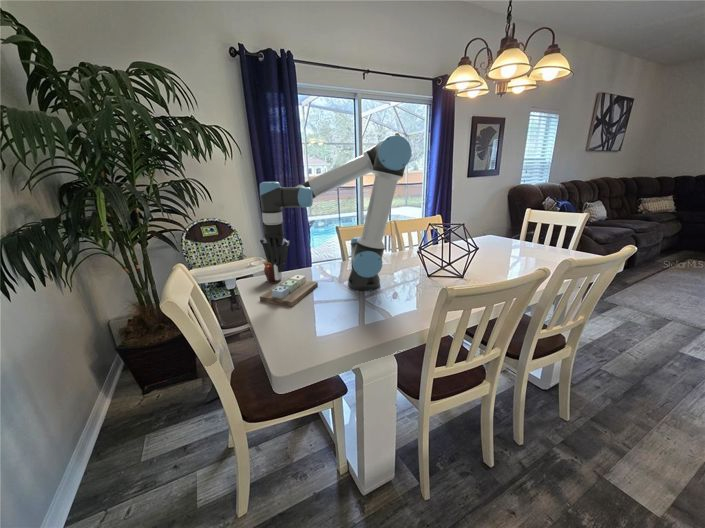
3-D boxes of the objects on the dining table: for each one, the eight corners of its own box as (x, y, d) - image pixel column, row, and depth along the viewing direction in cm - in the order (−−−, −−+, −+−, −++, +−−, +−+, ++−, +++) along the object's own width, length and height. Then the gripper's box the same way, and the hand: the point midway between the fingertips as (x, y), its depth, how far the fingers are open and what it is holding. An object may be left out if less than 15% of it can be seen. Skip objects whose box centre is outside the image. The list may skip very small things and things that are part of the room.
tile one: (305, 282, 136) (305, 275, 134) (300, 286, 131) (299, 279, 130) (296, 281, 137) (296, 274, 136) (290, 284, 133) (290, 277, 132)
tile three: (289, 294, 123) (288, 286, 122) (282, 299, 119) (281, 291, 118) (279, 292, 125) (278, 285, 124) (272, 297, 121) (271, 289, 119)
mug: (270, 276, 149) (268, 257, 145) (286, 277, 147) (284, 258, 144) (258, 285, 137) (256, 265, 134) (275, 286, 136) (273, 266, 132)
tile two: (298, 287, 129) (297, 280, 128) (291, 292, 125) (291, 284, 124) (288, 286, 131) (287, 279, 130) (282, 290, 127) (281, 283, 126)
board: (317, 286, 136) (317, 282, 135) (292, 306, 116) (292, 302, 116) (288, 281, 141) (288, 278, 140) (260, 300, 122) (259, 296, 121)
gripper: (292, 222, 113) (296, 277, 120) (265, 220, 117) (270, 274, 125) (281, 225, 106) (286, 284, 114) (253, 223, 111) (259, 280, 118)
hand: (278, 278), depth 119 cm, fingers closed
